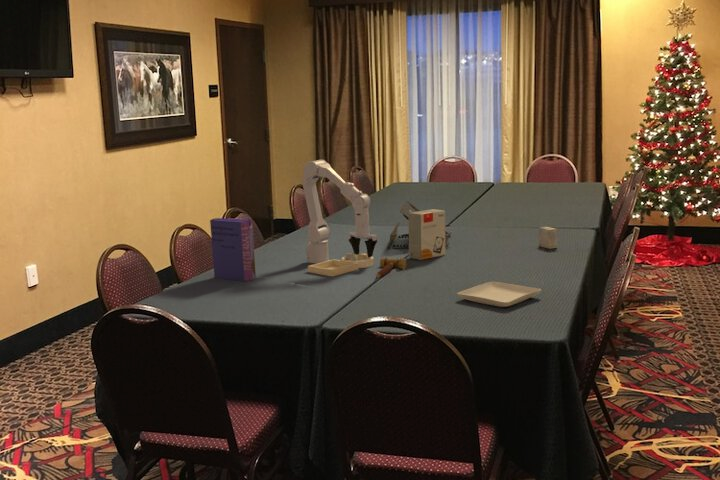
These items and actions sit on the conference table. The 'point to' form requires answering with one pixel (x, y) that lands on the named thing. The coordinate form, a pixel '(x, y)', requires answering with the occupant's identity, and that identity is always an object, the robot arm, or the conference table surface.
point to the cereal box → (233, 249)
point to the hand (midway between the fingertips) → (363, 255)
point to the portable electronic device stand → (395, 233)
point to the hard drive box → (426, 234)
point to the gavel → (390, 265)
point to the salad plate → (498, 294)
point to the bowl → (361, 262)
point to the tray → (333, 267)
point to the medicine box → (548, 237)
